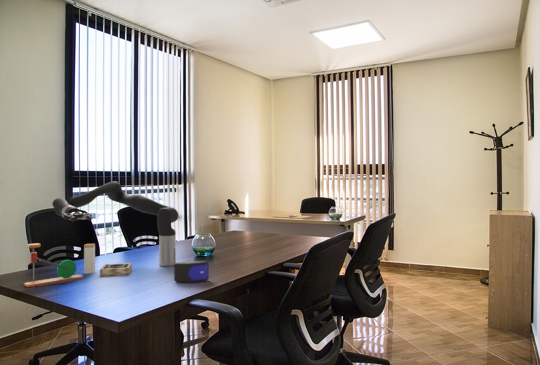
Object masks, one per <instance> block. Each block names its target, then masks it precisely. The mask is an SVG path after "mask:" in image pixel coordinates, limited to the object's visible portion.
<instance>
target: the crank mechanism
mask: <svg viewBox="0 0 540 365" xmlns="http://www.w3.org/2000/svg"><path fill="white" fill-rule="evenodd" d="M40 247H41V243H37V242H36V243H28V244H26V248H28V249H32V252H30V254H29V255H30V258H29V259H30V260H29V263H32V281H27V282H24V283H23V287H24V286H26V287H32V288H36V287H35V286H38V287H42V286H43V285H44V286H49V284H50V285H54V284H55V285H56V284H61V283H67V282H72V281H79V280H83V279H84V275H82V274H75V273H76V272H77V265H76V263H75V261H74V260H71V259H65V260H62V261H61V262H60V263H59V264H57V263H54V262H52V261H49V260H47V259H43V258H40V257H38V252H37V251H35V249H36V248H40ZM38 261H40V262H43V263H45V264H46V263H47V264H48V265H51V266H54V267H56V273H57V275H58V276H59V277H53V278H45V279H40V280H35V263H38ZM26 287H25V288H26Z"/></svg>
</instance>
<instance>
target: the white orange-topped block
mask: <svg viewBox="0 0 540 365" xmlns="http://www.w3.org/2000/svg"><path fill="white" fill-rule="evenodd" d="M83 251H84V252H83V262H84V263H83V264H84V267H83V274H94V273H96V243H86V244H84V245H83Z"/></svg>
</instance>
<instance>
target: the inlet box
mask: <svg viewBox="0 0 540 365" xmlns="http://www.w3.org/2000/svg"><path fill="white" fill-rule="evenodd" d="M132 264H133V263H132V262H124V263H107V264H106V263H104V264H103V266H102V267H101V268H100V269H99V277H111V276H128V275H130V274H131V272H132V269H133V267H132V266H133V265H132Z"/></svg>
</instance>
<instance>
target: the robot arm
mask: <svg viewBox="0 0 540 365" xmlns="http://www.w3.org/2000/svg"><path fill="white" fill-rule="evenodd" d="M104 194H106V195H107V197H108V198H109V200H111V201H113V202H116V203H119V204H123V205H124V206H127V207H130V208H132V209H134V210H135V211H139V212H140V213H143V214H149V215H154V216H156V219H157V220H156V221H157V222H156V224H157V232H158V234H159V235H158V237H159V238H158V243H159V244H158V245H159V248H158V249H159V250H158V253H159V254H158V256H159V258H158V262H159V264H158V265H159V266H160V267H171V266H174V264H175V263H177V262H176V261H177V260H176V259H177V258H176V254H177V252H176V249H177V248H176V247H177V246H176V244H177V242H176V233H177V232H176V230H175V229H174V228H172V223H175V222H176V221H178V220H179V212H178V210H177V209H176V208H175V207H172V206H168V205H164V204H162V203H160V202H157V201H155V200H153V199H151V198H149V197H146V196H145V195H142V194H139V193H137V194H128V193H127V192H125V191H124V190H123V189H122V186H121V184H120V182H118V181H116V180H115V181H109V182H107V183H105V184H102V185H100V186H98V187H96V188H94V189H91V190H89V191H88V192H84V193H82V194H79V195H75V196H72V197H70V198H69V201H67V200H66V199H65V198H63V197H59V198H58V197H57V198H55V199H54V200H53V201H52V204H51V205H52V207H53V209H54V212H55V213H56V215H57V216H60V217H61V218H62V219H64V220H65V221H67V220H69V221H71V222H75V221H78V220H83V221H84V220H88V221H92V219H93V214H91V213H90V212H82V211H81V210H80V209H79V208H81V207H84V206H87V205H89V204H91V203H92V202H93V201H95V200H96V199H97V197H99V196H101V195H104Z"/></svg>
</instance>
